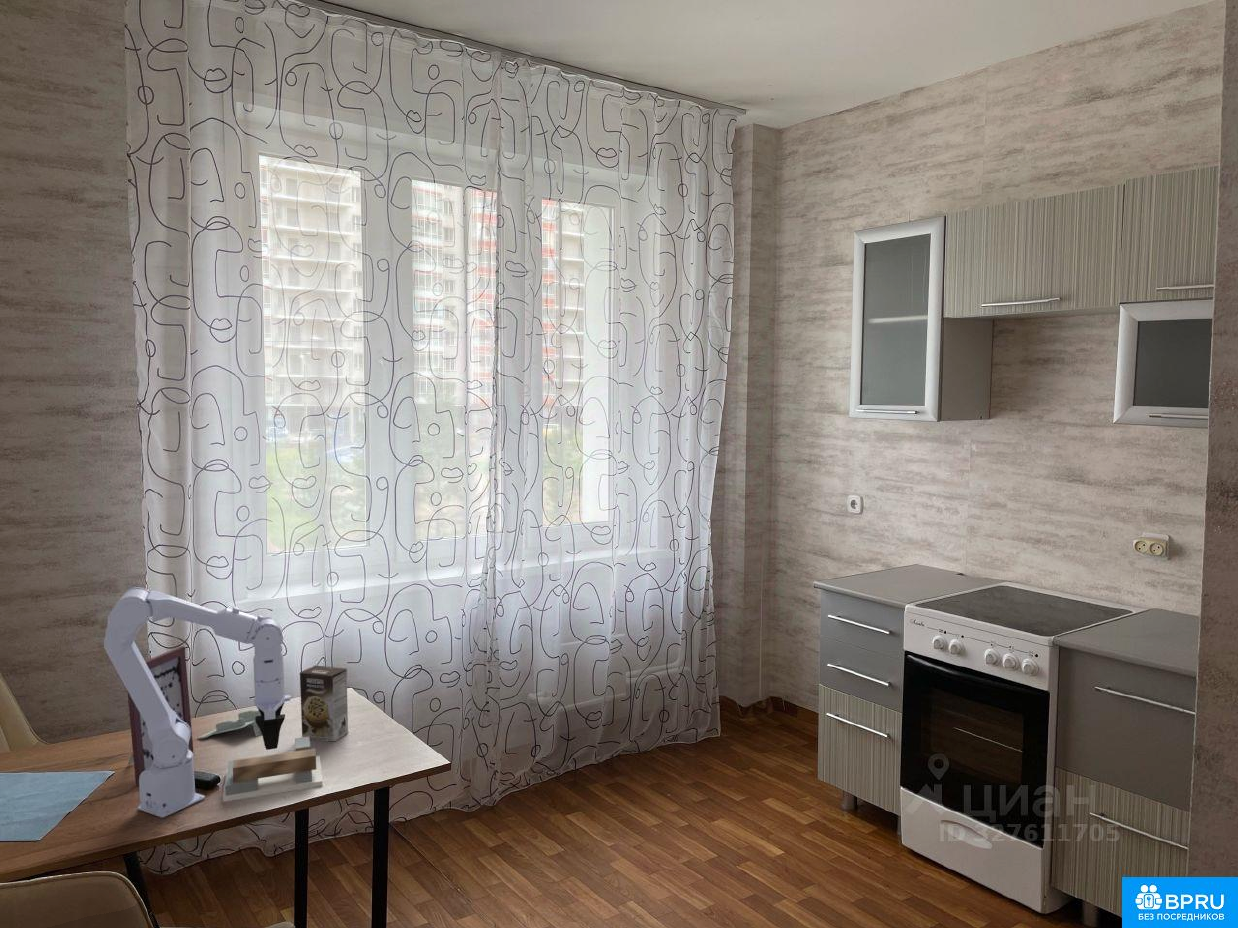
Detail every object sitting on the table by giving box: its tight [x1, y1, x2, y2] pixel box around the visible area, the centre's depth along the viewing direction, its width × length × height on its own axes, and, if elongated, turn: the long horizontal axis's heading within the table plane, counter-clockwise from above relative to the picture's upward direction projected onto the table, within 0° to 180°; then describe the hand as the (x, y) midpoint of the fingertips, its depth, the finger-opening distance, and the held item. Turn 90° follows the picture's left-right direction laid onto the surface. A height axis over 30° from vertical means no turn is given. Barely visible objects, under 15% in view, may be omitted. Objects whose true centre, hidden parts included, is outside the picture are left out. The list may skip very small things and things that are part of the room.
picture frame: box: [126, 646, 195, 786], centre depth 193 cm, size 17×10×25 cm, turn 168°
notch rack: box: [222, 736, 323, 803], centre depth 187 cm, size 19×14×6 cm
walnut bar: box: [233, 748, 317, 782], centre depth 184 cm, size 16×4×3 cm, turn 111°
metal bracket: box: [196, 709, 262, 740], centre depth 214 cm, size 14×6×15 cm
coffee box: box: [299, 665, 349, 742], centre depth 210 cm, size 9×6×16 cm
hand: (271, 741), depth 183 cm, fingers open, 7 cm apart
